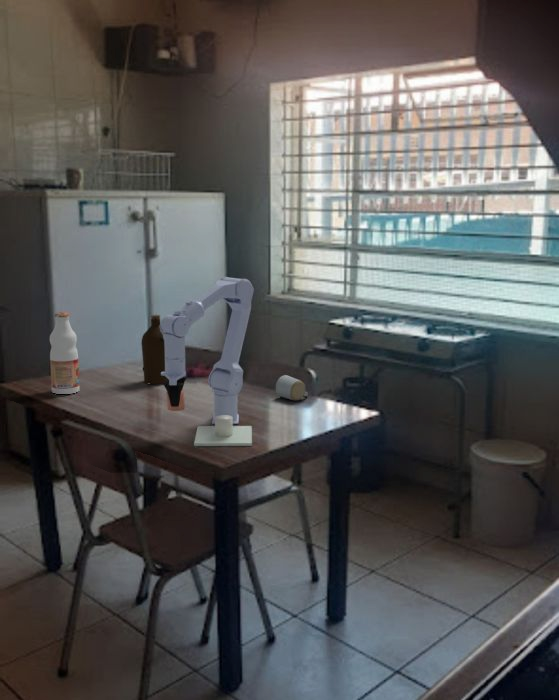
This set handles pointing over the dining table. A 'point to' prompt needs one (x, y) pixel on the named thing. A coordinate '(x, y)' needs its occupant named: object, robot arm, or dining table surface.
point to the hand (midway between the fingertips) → (175, 403)
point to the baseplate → (208, 437)
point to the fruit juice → (64, 356)
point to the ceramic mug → (290, 388)
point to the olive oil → (153, 353)
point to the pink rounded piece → (181, 404)
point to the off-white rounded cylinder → (223, 426)
